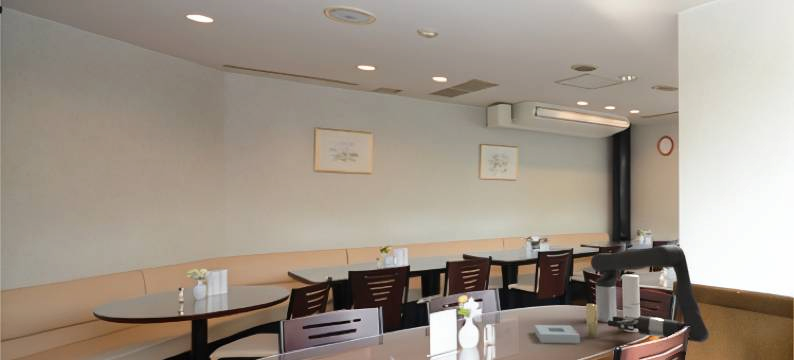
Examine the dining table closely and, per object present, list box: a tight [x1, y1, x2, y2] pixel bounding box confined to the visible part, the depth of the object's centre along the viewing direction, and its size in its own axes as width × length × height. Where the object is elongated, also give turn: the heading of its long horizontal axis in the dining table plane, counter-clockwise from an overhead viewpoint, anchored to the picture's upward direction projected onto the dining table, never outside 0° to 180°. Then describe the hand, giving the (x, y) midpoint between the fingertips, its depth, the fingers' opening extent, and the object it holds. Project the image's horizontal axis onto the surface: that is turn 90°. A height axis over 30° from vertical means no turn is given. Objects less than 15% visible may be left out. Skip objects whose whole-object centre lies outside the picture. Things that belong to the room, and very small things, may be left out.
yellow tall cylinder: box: [585, 303, 599, 339], centre depth 223 cm, size 4×4×14 cm
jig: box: [534, 324, 581, 344], centre depth 222 cm, size 16×16×4 cm
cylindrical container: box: [621, 274, 641, 333], centre depth 234 cm, size 7×7×25 cm
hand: (610, 320), depth 219 cm, fingers open, 8 cm apart
